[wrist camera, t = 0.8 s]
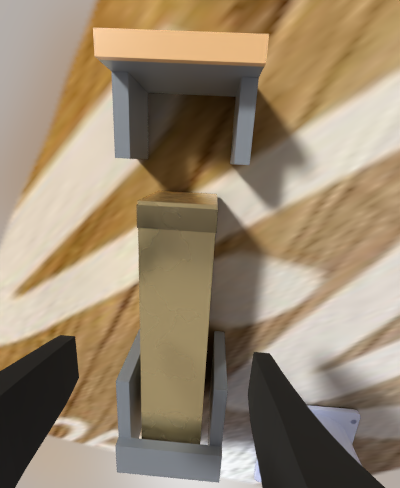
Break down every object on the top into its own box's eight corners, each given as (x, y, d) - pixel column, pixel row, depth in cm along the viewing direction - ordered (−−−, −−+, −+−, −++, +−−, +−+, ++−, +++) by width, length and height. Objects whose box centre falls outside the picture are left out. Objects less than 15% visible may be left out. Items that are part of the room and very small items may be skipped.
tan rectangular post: (203, 391, 23) (200, 452, 18) (156, 387, 23) (141, 447, 18) (217, 193, 18) (218, 205, 13) (157, 190, 18) (136, 200, 13)
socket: (242, 164, 18) (254, 165, 12) (136, 158, 18) (100, 156, 12) (250, 78, 16) (268, 34, 11) (134, 74, 16) (92, 27, 11)
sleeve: (218, 399, 24) (219, 482, 17) (142, 392, 24) (117, 472, 18) (224, 331, 21) (227, 399, 15) (141, 325, 22) (112, 389, 16)
